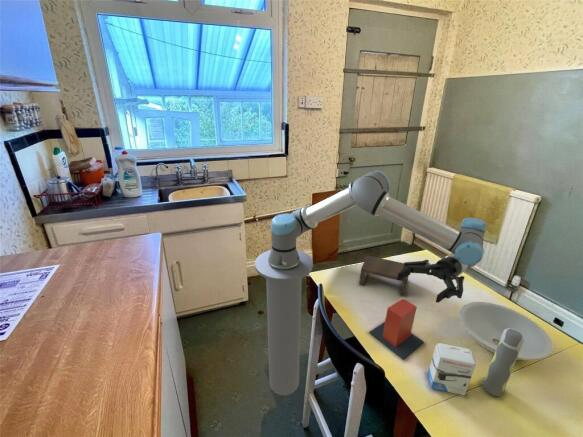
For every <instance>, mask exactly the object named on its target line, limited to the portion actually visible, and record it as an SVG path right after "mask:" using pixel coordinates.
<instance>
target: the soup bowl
mask: <svg viewBox="0 0 583 437" xmlns="http://www.w3.org/2000/svg"><path fill="white" fill-rule="evenodd" d="M458 316H459V321H460V323H461V325H462V326H463V328H464V329H465V330H466V331H467V332H468V334H469V335H470V337H472V339H473V340H474V341H475V342H477V343H478V344H479V345H480V346H481V347H482V348H484V349H485V350H487V351H489V352H491V353H493V354H495V351H496V349H497V347H498V344H499V343H498V344H497V343H495V342H494V341H493V340H495V341H498V342H500V339H501V337H502V334H503V332H504V330H505V329H508V328H512V329H515V330H518V331H519V332H521V333H522V335H523V337H524V342H523V344H522V347H521V350H520V352H519V355H518V357H517V360H518V361H519V360H523V361H525V360H527V361H537V360H543V359H545V358H547V357H549V356H550V355H551V353H552V352H553V348H554V346H553V341H552V339H551V337H550V336H549V335H548V333H547V332H546V331H545V330H544V329H543V328H542V327H541V326H540V325H539V324H538V323H537V322H535V320H532V319H531V318H529V317H528V316H526V315H524V314H523V313H520V312H519V311H516V310H514V309H513V308H509V307H507V306H504V305H500V304H497V303H493V302H488V301H473V302H468V303H465V304H464V305H463V306H461V308H460V309H459V312H458ZM517 360H516V361H517Z"/></svg>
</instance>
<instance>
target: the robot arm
mask: <svg viewBox="0 0 583 437" xmlns="http://www.w3.org/2000/svg"><path fill="white" fill-rule="evenodd" d="M390 188H391V181H390V178H389V177H388V176H387V174H385V172H383V171H380V170H371V171H369V172H367V173H366V174H364V175H362V176H361V177H359V178H356V179H355V180H353V181H351V182H350V183H349V185H348V187H347V188H344V189H343V190H341V191H339V192H337V193H335V194H333V195H331V196H329V197H326V198H325V199H322V200H321V201H319V202H317V203H315V204H313V205H311V206H310V205H304V206H302V207H299V208H296V209H295V210H294V211H293V212H291V213H281V214H277V215H275V216H274V217H273V218H272V220H271V224H270V225H271V226H270V231H271V232H270V233H271V249H270V250H271V252H270V256H269V258H268V264H269V265H270V267H272V268H274V269H276V270H283V271H285V270H291V269H294V268H296V267H297V266H298V265H299V263H300V258H299V255H298V252H297V250H298V249H297V239H298V238H299V237H300V236H301V235H303V234H305V233H306V232H308V231H310V230H313V229H315V228H317V226H318V224H319V223H322V222H323V221H325V220H328V219H330V218H332V217H334V216H336V215H337V216H338V215H339V214H342V213H343V212H346V211H349V210H350V209H352V208H355V207H357V206H358V208H360V209H362V210H363V211H365V212H367V214H368V213H369V214H370V215H372V216H374V217H378V216H379V217H382V218H384V219H386V220H388V221H390V222H392V223H394V224H396V225H397V226H399V227H402V228H403V229H405V230H408V231H409V232H410V233H411V232H412V233H413V234H415V235H417V236H419V237H421V238H423V239H424V240H427V241H429V242H430V243H432V244H434V245H436V246H438V247H440V248H442V249H444V250H446V251H448V252H450V254H448V255H445V256H444V257H442V258H440V259H439V260H438V261H436V263H430V260H429V259H424V260H417V261H415V260H414V261H404V262H403V263H404V266H403V269H402V270H401V272H399V273H398V277H397V280H396V281H398V282H401V281H400V280H401V279H403V278H405V277H407V276H408V277H409V276H410V275H411V274H421V275H422V274H423V275H427V276H433V277H435V278H437V279H439V280H442V281H443V284H445V287H446V288H445V289H443V290H441V291H440V292H439V293H437V295H436V299H435V303H437V304H438V303H441V301H443V300H445V299H447V300H448V299H451V298H452V297H454V296H455V297H456V298H457V299H462V298H463V293H464V281H465V276H463V275H461V274H463V273H465V272H466V271H467V270H469V269H471V268H473V267H475V266H476V265H477V264H479V263H480V262H481V261H482V259H483V257H484V254H485V250H484V242H485V241H484V238H485V237H484V236H485V234H486V231H487V230H486V229H487V222H485V221H484V220H483V219H480V218H476V217H466V218H464V219H463V220H462V222H461V225H460V228H459V230H458V229H457V228H454V227H452V226H450V225H448V224H446V223H445V222H442V221H440V220H438V219H436V218H434V217H432V216H430V215H428V214H426V213H424V212H422V211H420V210H418V209H416V208H414V207H412V206H409V205H407V204H405V203H403V202H401V201H400V200H397V199H395V198H394V197H391V196H390V193H389V192H390ZM454 281H455V283H456V286H455V283H454Z"/></svg>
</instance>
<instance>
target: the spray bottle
mask: <svg viewBox="0 0 583 437" xmlns="http://www.w3.org/2000/svg"><path fill="white" fill-rule="evenodd" d="M523 342H524V337H523V335H522V333H521V332H519V331H518V330H515V329H512V328H508V329H505V330H504V332H503V334H502V337H501V339H500V341H498V347H497V349H496V351H495V353H493V357H492V359H491V361H490V363H489V366H488V369H487V370H486V373H485V376H484V377H483V379H482V381H481V384H482V387H483V389H484V391H486V392H487V393H488V394H490V395H492V396H494V397H502V396H503V395H504V393H505V391H506V387H507V384H508V381H509V379H510V378H511V374H512V372H513V370H514V367H515V364H516V362H517V357H518V355H519V352H520V350H521V347H522V344H523Z"/></svg>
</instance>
